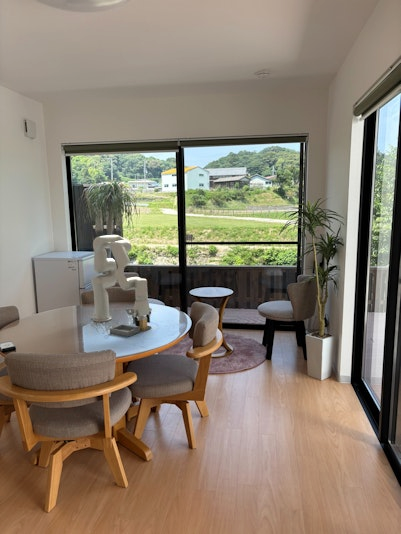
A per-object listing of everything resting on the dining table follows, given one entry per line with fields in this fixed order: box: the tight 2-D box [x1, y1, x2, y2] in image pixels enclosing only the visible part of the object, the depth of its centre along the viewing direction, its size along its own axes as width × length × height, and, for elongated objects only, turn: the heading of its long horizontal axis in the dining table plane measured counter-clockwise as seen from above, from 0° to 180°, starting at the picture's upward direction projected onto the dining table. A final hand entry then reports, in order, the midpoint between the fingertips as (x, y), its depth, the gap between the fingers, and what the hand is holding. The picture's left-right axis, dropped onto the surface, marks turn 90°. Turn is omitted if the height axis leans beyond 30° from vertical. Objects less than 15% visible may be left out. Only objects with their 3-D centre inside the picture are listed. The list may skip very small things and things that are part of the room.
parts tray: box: [109, 323, 141, 338], centre depth 250 cm, size 15×11×3 cm
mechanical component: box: [125, 307, 135, 325], centre depth 270 cm, size 3×10×10 cm, turn 79°
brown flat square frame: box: [136, 325, 152, 333], centre depth 257 cm, size 8×8×2 cm
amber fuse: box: [139, 315, 148, 329], centre depth 256 cm, size 4×4×8 cm
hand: (142, 324), depth 256 cm, fingers open, 9 cm apart
